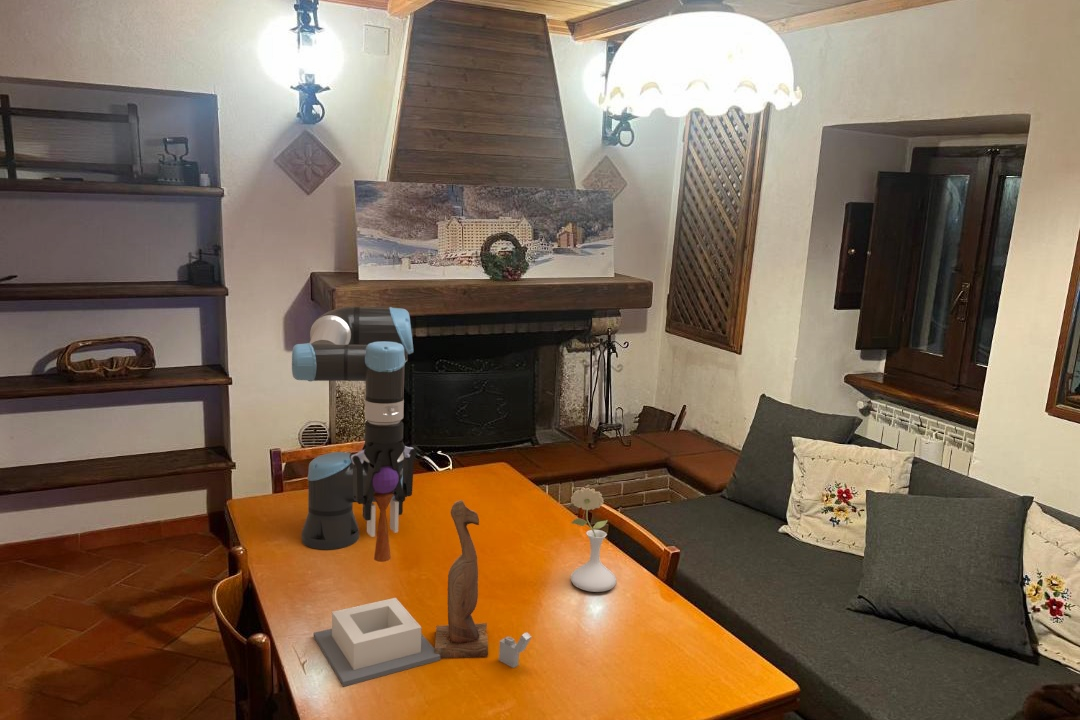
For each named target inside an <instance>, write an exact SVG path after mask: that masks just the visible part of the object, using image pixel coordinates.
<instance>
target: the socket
mask: <svg viewBox="0 0 1080 720" xmlns="http://www.w3.org/2000/svg"><path fill="white" fill-rule="evenodd" d="M331 615H332V616H331V628H328V629H324V630H320V631H317V632H316V631H315V632H313V639H314V641H315V643H317V646H318V647H319V648H320V650H321V651H322V654H323V655H324V657H325V658H326V660H327V662H328V663H329V665H330V667H331V669H332V670H333V671H334V673H335V675H336V676H337V678H338V680H339V682H340V683H341V685H342V686H343V688H344V687H349V686H353V685H355V684H358V683H362V682H367V681H370V680H374V679H376V678H377V679H378V678H381V677H384V676H388V675H391V674H392V675H393V674H395V673H398V672H402V671H406V670H409V669H413V668H417V667H420V666H424V665H427V664H432V663H436V662H438V661H441V659H440V655H439V654H435V647H434V646H433V645H432V644H431V643H430V641H429V640H428V639H427V638H426V637H425V636H424V635H423V633H422V625H420V624H419V622H417V621H416V619H415V618H414V617H413V616H412V615H411V614H410V612H409V611H408V610H407V609H406V607H404V605H403V604H402V603H401V602H400V601H399V600H398V598H397V597H392V598H388V599H384V600H379V601H374V602H369V603H366V604H360V605H357V606H352V607H347V608H344V609H343V608H342V609H339V610H333V611H332V612H331Z"/></svg>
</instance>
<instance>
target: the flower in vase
mask: <svg viewBox="0 0 1080 720" xmlns="http://www.w3.org/2000/svg"><path fill="white" fill-rule="evenodd" d="M602 496H603V494H602V493H601V492H600V491H596V490H595V488H589V487H586V488H585V487H581V489H577V490H576V491H574V492H573V494H572V496H570V499H571V503H573V505H574V507H577V508H579V509H582V510H584V511H585V512H586V513H585V514H586V515H585V517H586V518H585V519H586V520H585V519H582V518H580V517H579V518H575V519H572V521H571V522H570V524H575V525H578V526H581V527H584V526H585V525H587V524H588V526H589V528H590V530H587V531H586V532H585V533H586V535H587V537H588V539H589V544H590V557H589V560H588V561H587V562H586V563H584V564H583V565H581V566H579V567H577V568H576V569H575V570H573V572H572V573H571V575H570V581H571V583H572V584H573V586H575V587H577V588H578V589H580V590H583V591H586V592H593V593H594V592H595V593H598V592H599V593H600V592H607V591H609V590H611V589H613V588H614V587H615V586H616V585H617V579H616V578H617V577H616V575H615V574H614V573H613V572H612V571H611V570H610V569H609V568H607V567H606V566H605V565H604V564H603V563H602V561H601V559H600V557H601V555H600V554H601V547H602V544H603V540H604V539H605V538H606V537H607V535H608V534H607V532H605V531H603V530H600V529H602V528H603V527H605V526H606V524H607V523H608V520H609V519H606V520H601V521H597V522H596V523H595V524H594V525H593V527H592V525H591V523H590V522H589V520H588V519H589V518H588V514H589V513H588V511H590V510H595V509H600V508H601V506H602V505H603V504H604V502H605V501H604V498H603V497H602Z"/></svg>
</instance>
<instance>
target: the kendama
mask: <svg viewBox="0 0 1080 720" xmlns="http://www.w3.org/2000/svg"><path fill="white" fill-rule="evenodd" d="M398 479H399V475H398V473H397V471H396V470H393V468H392V466H384V467H381V469H380V472H379V473H375V475H374V477H373V487H374V489H375V492H374V498H375V501H376V502H375V503H376V506H378V509H379V518H378V525H377V533H376V541H375V549H374V556H373V557H374V558H373V560H374V561H376V562H382V563H384V562H387V561H390V560H391V558H392V557H391V550H390V549H391V547H390V539H389V530H388V529H389V527H388V518H387V509H388V507H389V506H390V501H391V499H392V497H393V495H394V493H393V492H391V491H392V490H394V489H395V488H396V486H397V483H398Z"/></svg>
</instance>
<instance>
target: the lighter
mask: <svg viewBox="0 0 1080 720" xmlns="http://www.w3.org/2000/svg"><path fill="white" fill-rule="evenodd" d="M531 639H532V636H531V634H530V633H529V632H524V633H523V634H521V635H520V638H519V640H518V641H517V643H516V641H515V640H516V639H514V638H513V637H511V636H505V637H504V638H502V639H500V640H499V649H498V661H499V662H501V663H502V664H505V665H507V666H509V667H510V668H513V669H514V668H516V667H518V666H519V665H520V664H519V660H520V653H522V652H524V651H526V648H527V646H528V644H529V642H530V641H531Z"/></svg>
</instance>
